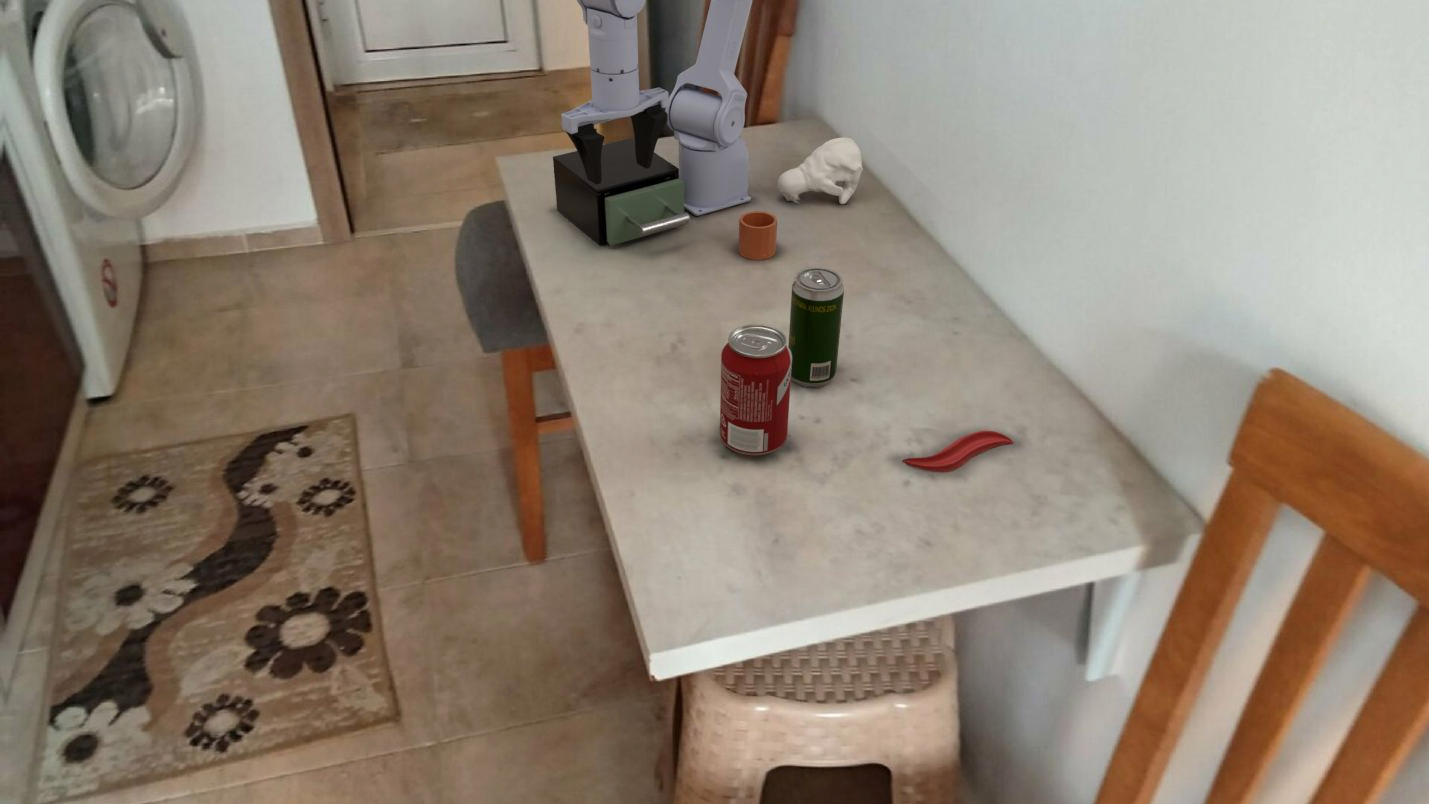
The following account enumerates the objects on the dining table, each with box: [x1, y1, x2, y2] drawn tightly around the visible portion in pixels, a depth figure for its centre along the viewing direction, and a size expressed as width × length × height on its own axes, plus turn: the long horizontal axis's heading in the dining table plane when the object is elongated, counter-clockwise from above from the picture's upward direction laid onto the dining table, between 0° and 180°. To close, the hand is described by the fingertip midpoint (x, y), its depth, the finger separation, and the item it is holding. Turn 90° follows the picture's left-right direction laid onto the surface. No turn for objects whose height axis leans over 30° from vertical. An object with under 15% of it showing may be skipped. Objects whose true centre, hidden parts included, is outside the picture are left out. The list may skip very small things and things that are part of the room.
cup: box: [738, 210, 778, 261], centre depth 139 cm, size 5×5×5 cm
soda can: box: [719, 323, 792, 456], centre depth 105 cm, size 7×7×12 cm
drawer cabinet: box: [552, 137, 679, 246], centre depth 146 cm, size 12×12×8 cm
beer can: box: [787, 267, 845, 388], centre depth 114 cm, size 5×5×12 cm
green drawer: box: [601, 176, 691, 246], centre depth 143 cm, size 16×11×6 cm
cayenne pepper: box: [902, 430, 1014, 473], centre depth 106 cm, size 12×5×2 cm, turn 100°
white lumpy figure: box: [777, 137, 864, 205], centre depth 151 cm, size 6×8×12 cm
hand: (619, 173), depth 135 cm, fingers open, 7 cm apart
